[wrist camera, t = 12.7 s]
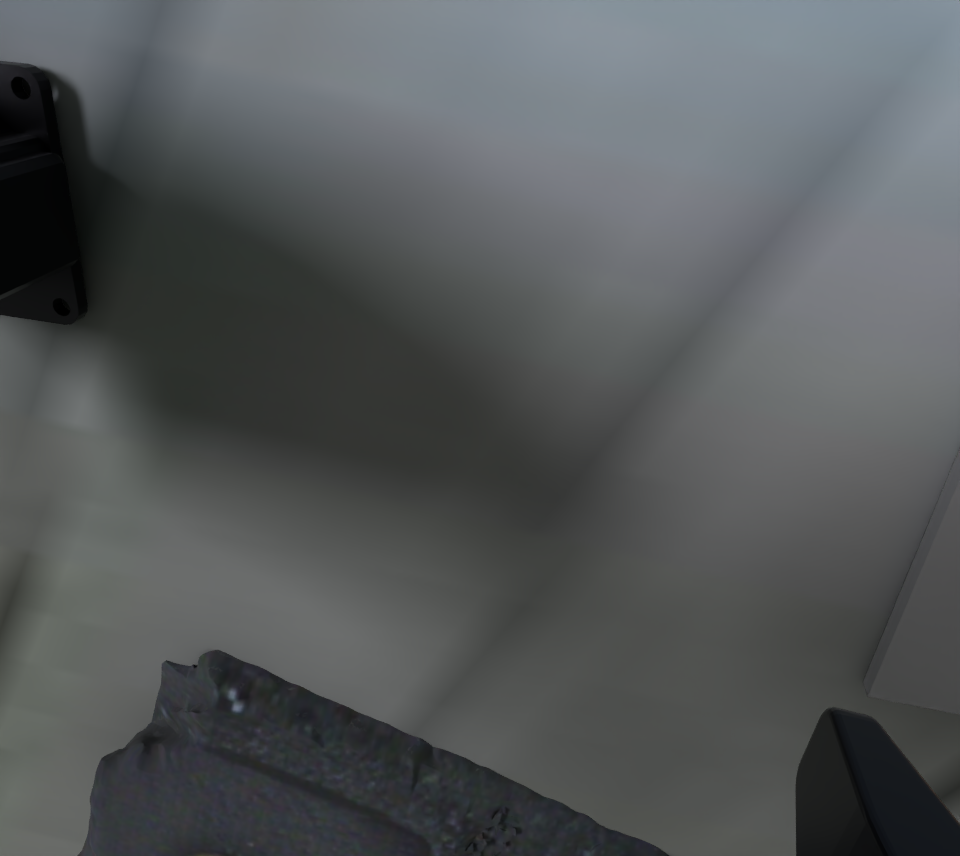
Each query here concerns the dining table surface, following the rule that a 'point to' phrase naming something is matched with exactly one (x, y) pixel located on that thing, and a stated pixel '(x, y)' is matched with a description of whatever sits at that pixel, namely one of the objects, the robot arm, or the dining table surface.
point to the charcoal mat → (926, 618)
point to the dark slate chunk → (310, 783)
